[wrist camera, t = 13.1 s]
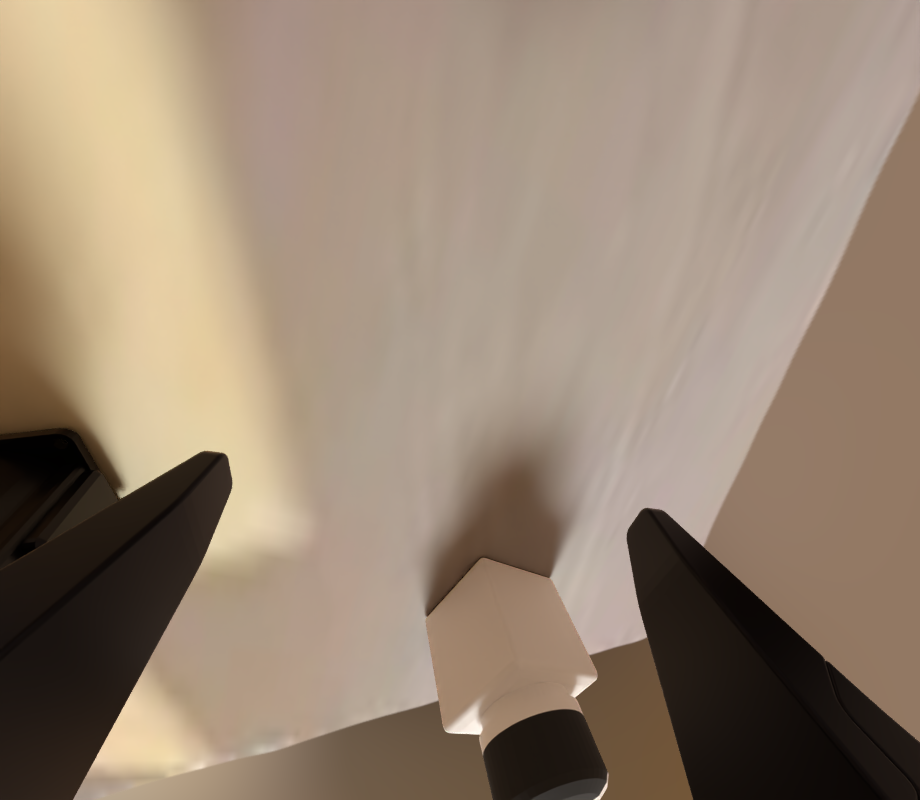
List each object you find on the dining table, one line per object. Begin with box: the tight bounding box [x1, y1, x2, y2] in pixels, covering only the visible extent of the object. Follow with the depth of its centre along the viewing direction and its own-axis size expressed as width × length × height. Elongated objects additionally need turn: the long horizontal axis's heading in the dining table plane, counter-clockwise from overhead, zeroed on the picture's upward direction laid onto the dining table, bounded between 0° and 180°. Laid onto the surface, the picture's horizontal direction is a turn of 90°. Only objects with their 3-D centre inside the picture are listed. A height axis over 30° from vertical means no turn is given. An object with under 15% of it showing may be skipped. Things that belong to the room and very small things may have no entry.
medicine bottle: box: [426, 558, 608, 800], centre depth 25 cm, size 7×7×12 cm
